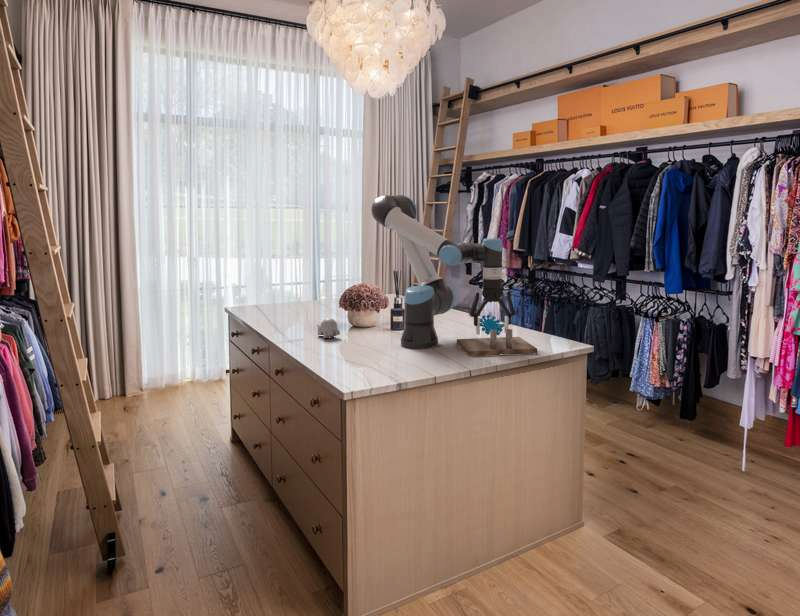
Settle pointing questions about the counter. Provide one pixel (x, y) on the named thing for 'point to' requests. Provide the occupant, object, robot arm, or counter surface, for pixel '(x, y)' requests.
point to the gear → (491, 325)
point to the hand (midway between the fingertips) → (492, 333)
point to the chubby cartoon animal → (328, 328)
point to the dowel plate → (501, 346)
